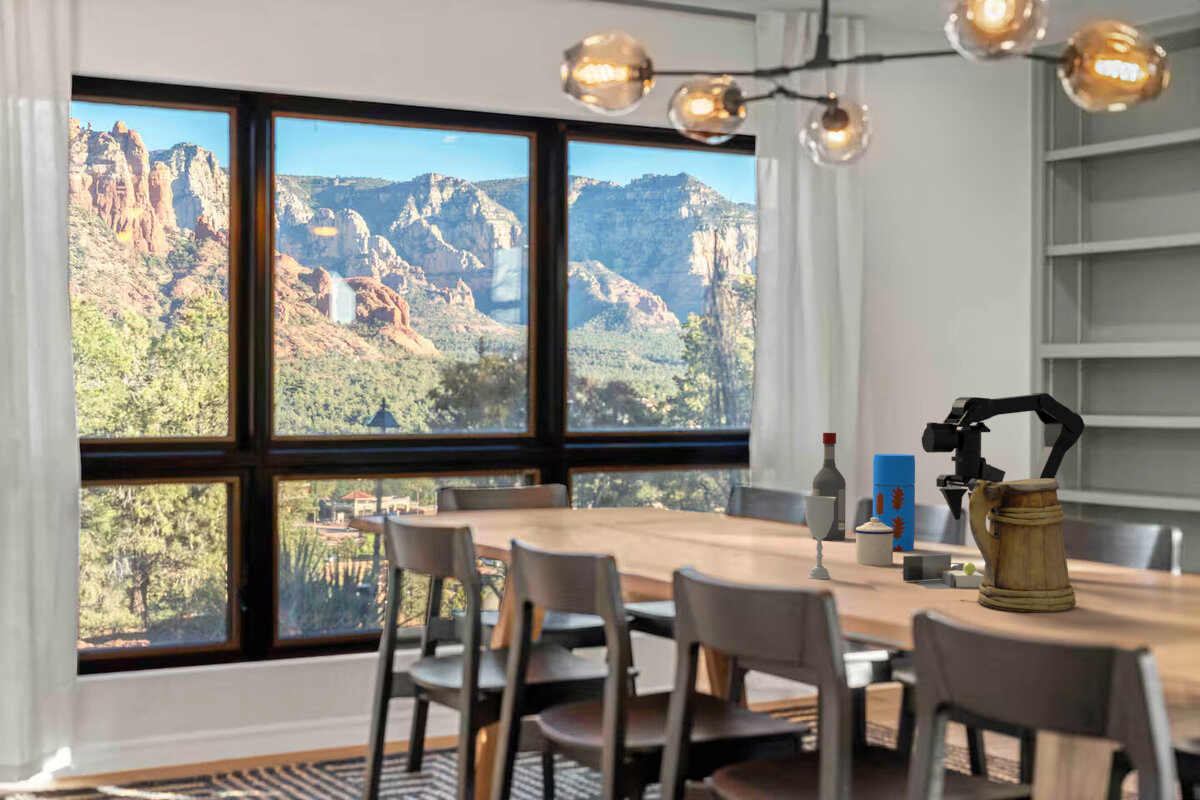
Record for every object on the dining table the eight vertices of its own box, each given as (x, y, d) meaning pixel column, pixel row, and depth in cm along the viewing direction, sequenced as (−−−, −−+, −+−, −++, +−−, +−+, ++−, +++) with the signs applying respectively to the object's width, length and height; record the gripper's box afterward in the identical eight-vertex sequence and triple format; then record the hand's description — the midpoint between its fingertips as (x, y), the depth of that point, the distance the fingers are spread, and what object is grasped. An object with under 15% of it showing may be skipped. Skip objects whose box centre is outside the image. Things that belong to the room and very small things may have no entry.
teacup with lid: (901, 568, 333) (901, 519, 333) (866, 569, 330) (867, 519, 330) (875, 562, 344) (875, 514, 344) (842, 563, 341) (842, 515, 341)
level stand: (996, 576, 319) (997, 560, 319) (1032, 592, 293) (1032, 575, 293) (900, 575, 319) (900, 559, 319) (927, 592, 293) (927, 574, 293)
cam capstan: (898, 580, 305) (898, 555, 305) (964, 575, 313) (965, 551, 313) (925, 585, 297) (925, 559, 297) (992, 580, 305) (993, 555, 305)
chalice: (839, 576, 317) (839, 496, 316) (831, 580, 310) (831, 498, 310) (807, 574, 320) (808, 495, 320) (798, 578, 314) (799, 497, 313)
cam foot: (974, 582, 303) (975, 558, 303) (985, 587, 295) (985, 563, 295) (946, 581, 303) (947, 558, 303) (956, 587, 295) (956, 563, 295)
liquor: (812, 540, 394) (812, 433, 394) (812, 536, 403) (813, 432, 403) (845, 540, 393) (846, 433, 393) (844, 537, 402) (845, 432, 402)
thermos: (918, 551, 368) (918, 456, 368) (876, 551, 368) (877, 455, 368) (909, 546, 379) (910, 454, 378) (869, 546, 379) (870, 453, 379)
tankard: (1096, 609, 272) (1097, 480, 272) (1006, 618, 261) (1007, 483, 260) (1026, 596, 288) (1027, 474, 288) (938, 604, 277) (939, 477, 276)
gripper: (1022, 454, 311) (1021, 524, 311) (978, 450, 329) (977, 517, 329) (977, 454, 308) (976, 525, 308) (935, 450, 326) (934, 518, 326)
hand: (967, 521), depth 318 cm, fingers open, 9 cm apart
